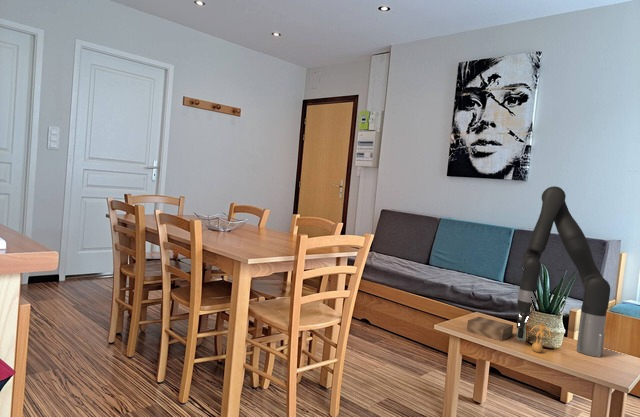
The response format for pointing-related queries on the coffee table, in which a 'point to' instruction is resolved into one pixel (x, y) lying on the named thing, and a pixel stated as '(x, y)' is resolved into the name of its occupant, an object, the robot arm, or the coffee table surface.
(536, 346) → the figurine
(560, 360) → the coffee table surface
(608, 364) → the coffee table surface
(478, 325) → the walnut box
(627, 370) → the coffee table surface
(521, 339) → the sage canister
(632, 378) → the coffee table surface
